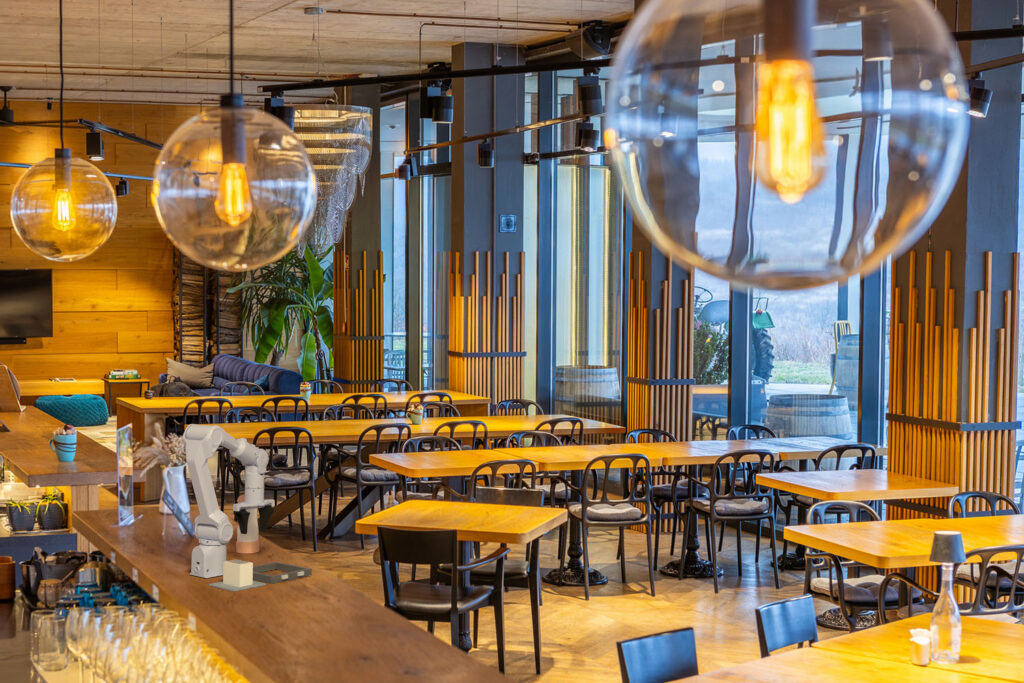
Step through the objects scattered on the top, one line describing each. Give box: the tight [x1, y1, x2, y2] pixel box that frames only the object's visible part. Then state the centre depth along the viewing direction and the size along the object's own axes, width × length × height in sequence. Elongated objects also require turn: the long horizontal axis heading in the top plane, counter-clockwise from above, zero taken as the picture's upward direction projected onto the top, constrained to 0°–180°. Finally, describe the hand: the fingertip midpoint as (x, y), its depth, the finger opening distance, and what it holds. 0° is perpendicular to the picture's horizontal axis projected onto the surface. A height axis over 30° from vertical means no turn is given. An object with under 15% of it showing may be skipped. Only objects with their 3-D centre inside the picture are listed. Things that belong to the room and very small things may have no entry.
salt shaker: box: [235, 493, 260, 554], centre depth 365 cm, size 7×7×19 cm
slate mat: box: [208, 580, 267, 592], centre depth 316 cm, size 11×11×1 cm
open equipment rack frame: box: [253, 561, 312, 585], centre depth 329 cm, size 15×16×2 cm
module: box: [222, 559, 254, 587], centre depth 316 cm, size 4×7×6 cm, turn 53°
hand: (253, 532), depth 347 cm, fingers open, 7 cm apart
